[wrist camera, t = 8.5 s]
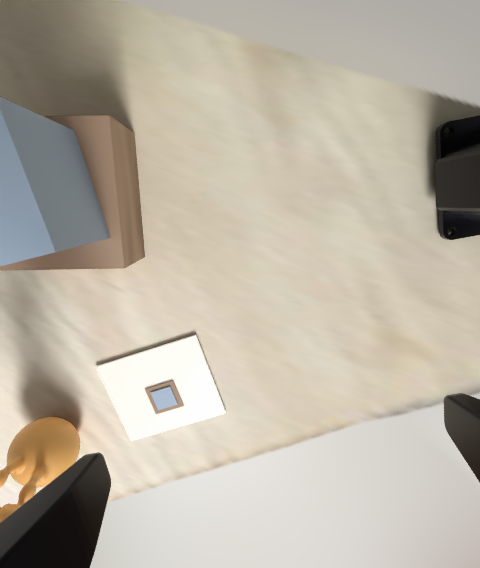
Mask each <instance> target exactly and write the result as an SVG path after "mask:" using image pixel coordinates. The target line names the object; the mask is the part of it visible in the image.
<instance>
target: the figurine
mask: <svg viewBox="0 0 480 568" xmlns="http://www.w3.org/2000/svg"><path fill="white" fill-rule="evenodd" d="M79 450H80V438H79V434H78V432H77V430H76V428H75V427H74V426H73V425H72V424H71V423H70V422H68V421H67V420H65V419H62V418H58V417H46V418H41V419H38V420H36V421H34V422H32V423H30V424H28V425H27V426H25V427H24V428H23V429H22V430H21V431H20V432H19V433H18V434H17V435H16V436H15V438H14V439H13V441H12V443H11V445H10V447H9V450H8V454H7V466H6V467H5V468H4V469H3V470H0V487H1V486H2V485H3V484H4V483H5V482H6V480H7V477H8V475H9V473H10V474H11V476H12V477H13V479H14V480H15V481H17V482H18V483H20V484H21V485H24V487H23V488H22V489H21V491H20V494H19V501H18V504H17V505H16V504H6V505H4V506H3V507H2V508H1V507H0V523H1V522H2V521H3V520H4V519H6V518H7V517H8V516H9V515H11V514H12V513H13V512H14V511H15V510H17V509H18V508H19V507H20V506H22V505H23V504H24V503H25V502H27V501H28V500H29V499H30V498H32V497H33V496H34V494H35V492H36V487H43V486H47V485H48V484H49V483H50V482H52V481H53V480H54V479H55V478H57V477H58V476H59V475H60V474H62V473H63V472H64V471H65V470H67V469H68V468H69V467H70V466H72V465H73V464H74V463H75V461H76V459H77V457H78V454H79Z"/></svg>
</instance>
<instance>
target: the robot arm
mask: <svg viewBox="0 0 480 568" xmlns="http://www.w3.org/2000/svg"><path fill="white" fill-rule="evenodd" d="M446 128H447V129H449V135H448V136H446V135H445V129H446ZM436 156H437V162H436V163H435V185H436V207H437V208H438V210H439V233H440V236H441V237H442V238H444V239H448V240H453V239H459V238H465V237H470V236H476V235H480V116H475V117H470V118H465V119H459V120H454V121H449V122H446V123H444V124H441V125H440V126H439V127H438V128H437V130H436ZM450 227H451V228H452V232H451V234H448V229H449V228H450ZM444 422H445V427H446V430H447V432H448V434H449V436H450V437H451V439H452V440H453V442H454V443H455V445H456V446H457V448H458V449H459V451H460V452H461V454H462V456H463V457H464V459H465V460H466V462H467V463H468V465H469V466H470V468H471V470H472V471H473V473H474V474H475V476H476V477H477V479H478V480H479V482H480V399H477V398H474V397H471V396H469V395H466V394H463V393H458V394H452V395H447V396H446V397H445V398H444ZM110 487H111V478H110V474H109V471H108V468H107V465H106V462H105V459H104V457H103V455H102V454H101V453H93V454H87V455H84V456H83V457H82V458H80V459H79V460H78V461H77V462H75V463H74V464H73V465H72V466H70V467H69V468H68V469H67V470H65V471H64V472H63V473H62V474H60V475H59V476H58V477H57V478H55V479H54V480H53V481H52V482H50V483H49V484H48V485H47V486H45V487H44V488H43V489H42V490H40V491H39V492H38V493H37V494H35V495H34V496H33V497H32V498H30V499H29V500H28V501H27V502H25V503H24V504H23V505H22V506H20V507H19V508H18V509H17V510H15V511H14V512H13V513H12V514H11V515H9V516H8V517H7V518H6V519H4V520H3V521H2V522H1V523H0V568H90V565H91V562H92V558H93V555H94V552H95V548H96V545H97V541H98V537H99V533H100V528H101V525H102V520H103V516H104V512H105V508H106V504H107V500H108V496H109V492H110Z"/></svg>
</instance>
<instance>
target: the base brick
mask: <svg viewBox="0 0 480 568" xmlns="http://www.w3.org/2000/svg"><path fill="white" fill-rule="evenodd" d="M44 117H46V118H48V119H50V120H52V121H55V122H57V123H59V124H61V125H63V126H65V127H68V128H70V129H72V130H74V132H75V135H76V138H77V141H78V143H79V146H80V149H81V152H82V155H83V158H84V161H85V164H86V167H87V170H88V173H89V176H90V178H91V181H92V184H93V187H94V190H95V193H96V196H97V199H98V202H99V205H100V208H101V211H102V213H103V216H104V219H105V222H106V225H107V228H108V231H109V234H110V237H111V238H108V239H104V240H101V241H97V242H93V243H89V244H85V245H81V246H78V247H74V248H70V249H66V250H62V251H58V252H55V253H51V254H47V255H43V256H39V257H35V258H31V259H27V260H23V261H20V262H16V263H12V264H8V265H4V266H0V270H49V269H109V268H126V267H128V266H129V265H131V264H133V263H135V262H136V261H138V260H140V259H142V258H144V257H145V252H144V240H143V228H142V216H141V205H140V193H139V181H138V169H137V157H136V146H135V134H134V132H132V131H131V130H129V129H128V128H127V127H125V126H124V125H122V124H121V123H119V122H118V121H117V120H115V119H114V118H112V117H111V116H109V115H93V116H44Z"/></svg>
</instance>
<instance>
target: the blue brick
mask: <svg viewBox="0 0 480 568" xmlns="http://www.w3.org/2000/svg"><path fill="white" fill-rule="evenodd" d="M108 238H111V237H110V234H109V231H108V228H107V225H106V222H105V219H104V216H103V213H102V211H101V208H100V205H99V202H98V199H97V196H96V193H95V190H94V187H93V184H92V181H91V178H90V176H89V173H88V170H87V167H86V164H85V161H84V158H83V155H82V152H81V149H80V146H79V143H78V141H77V138H76V135H75V132H74V130H72V129H70V128H68V127H65V126H63V125H61V124H59V123H57V122H55V121H52V120H50V119H48V118H46V117H44V116H41V115H39V114H37V113H35V112H33V111H31V110H28V109H26V108H24V107H22V106H20V105H17V104H15V103H13V102H11V101H9V100H7V99H4V98H2V97H0V266H4V265H8V264H12V263H16V262H20V261H23V260H27V259H31V258H35V257H39V256H43V255H47V254H51V253H55V252H58V251H62V250H66V249H70V248H74V247H78V246H81V245H85V244H89V243H93V242H97V241H101V240H104V239H108Z"/></svg>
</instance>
